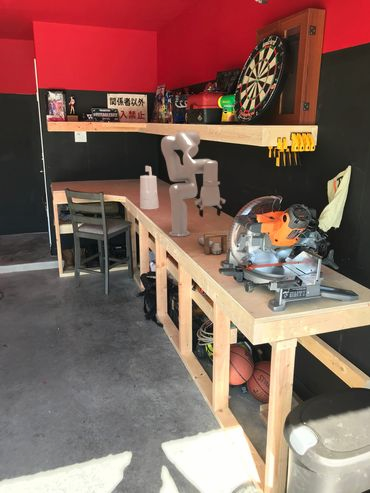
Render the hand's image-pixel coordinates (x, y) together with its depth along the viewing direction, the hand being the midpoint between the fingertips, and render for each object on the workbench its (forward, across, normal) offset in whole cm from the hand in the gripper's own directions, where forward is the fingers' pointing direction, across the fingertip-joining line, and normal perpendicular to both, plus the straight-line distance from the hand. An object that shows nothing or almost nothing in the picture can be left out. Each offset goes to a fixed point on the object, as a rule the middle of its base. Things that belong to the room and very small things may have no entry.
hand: (210, 215), depth 230 cm
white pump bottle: (+20, +9, -124) cm, 126 cm away
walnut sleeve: (+18, 0, +9) cm, 20 cm away
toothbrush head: (+19, 0, 0) cm, 19 cm away
